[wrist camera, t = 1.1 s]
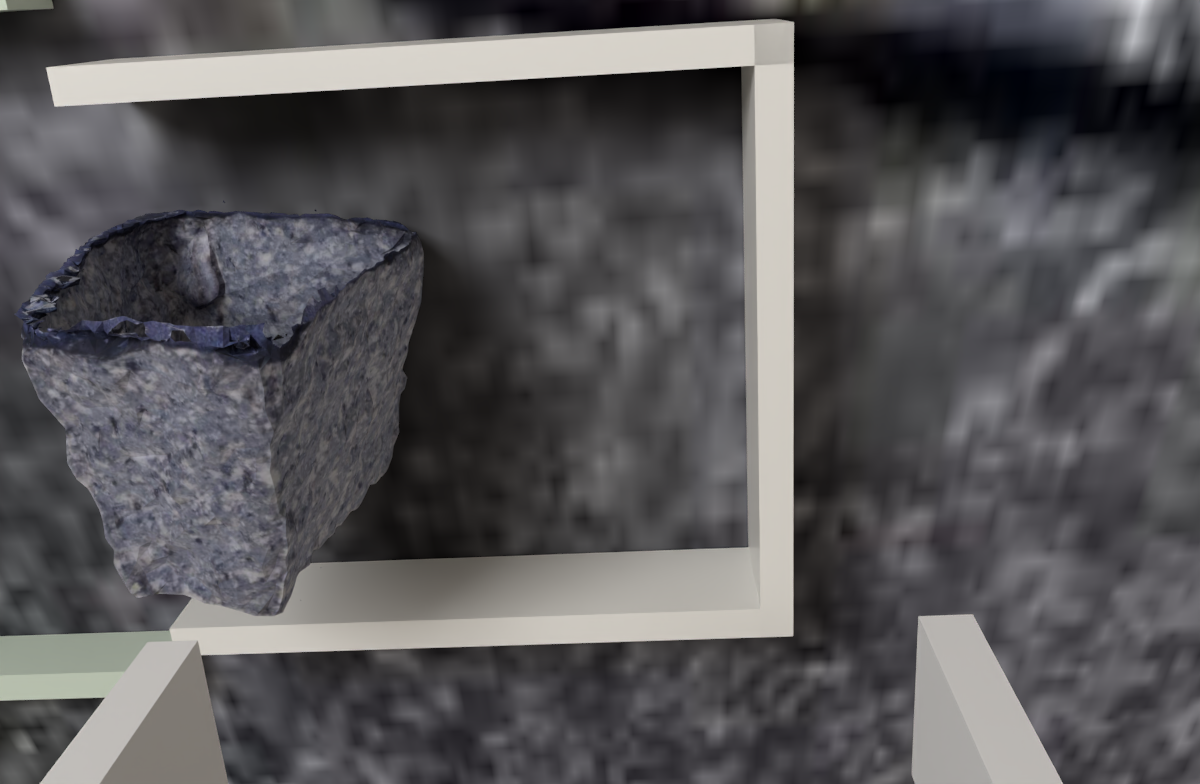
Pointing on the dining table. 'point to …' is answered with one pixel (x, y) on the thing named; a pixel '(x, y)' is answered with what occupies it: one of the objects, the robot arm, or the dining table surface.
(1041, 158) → the dining table surface
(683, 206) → the dining table surface
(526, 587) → the frame
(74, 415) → the stone
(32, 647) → the pale green u-shaped frame
